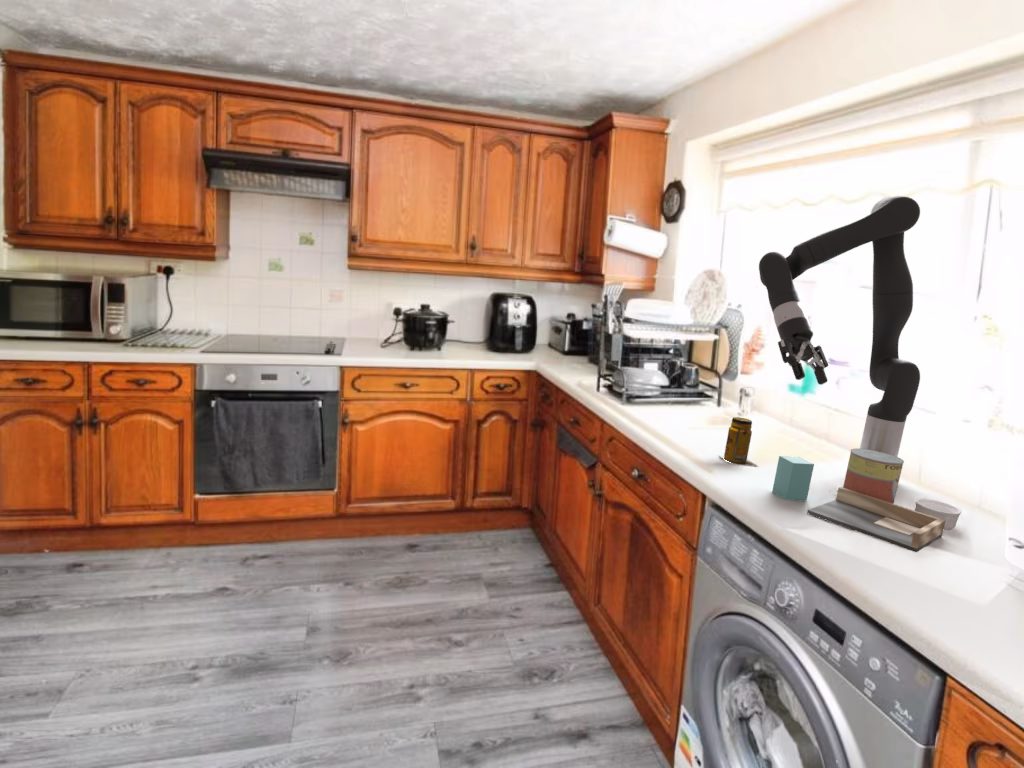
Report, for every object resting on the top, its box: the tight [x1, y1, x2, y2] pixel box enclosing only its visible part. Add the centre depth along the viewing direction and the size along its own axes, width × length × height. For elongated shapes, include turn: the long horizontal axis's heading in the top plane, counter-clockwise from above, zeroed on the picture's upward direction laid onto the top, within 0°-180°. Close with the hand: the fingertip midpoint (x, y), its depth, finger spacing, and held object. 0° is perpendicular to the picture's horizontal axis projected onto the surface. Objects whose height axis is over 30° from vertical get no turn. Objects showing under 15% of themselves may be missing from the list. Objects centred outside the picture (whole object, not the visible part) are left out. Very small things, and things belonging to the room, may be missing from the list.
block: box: [772, 455, 815, 501], centre depth 158 cm, size 6×6×9 cm
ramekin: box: [914, 498, 962, 531], centre depth 151 cm, size 9×9×4 cm
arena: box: [806, 486, 946, 553], centre depth 145 cm, size 16×22×4 cm
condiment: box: [723, 416, 759, 467], centre depth 184 cm, size 7×8×12 cm
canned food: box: [842, 448, 905, 504], centre depth 159 cm, size 11×11×12 cm
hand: (812, 380), depth 162 cm, fingers open, 8 cm apart
